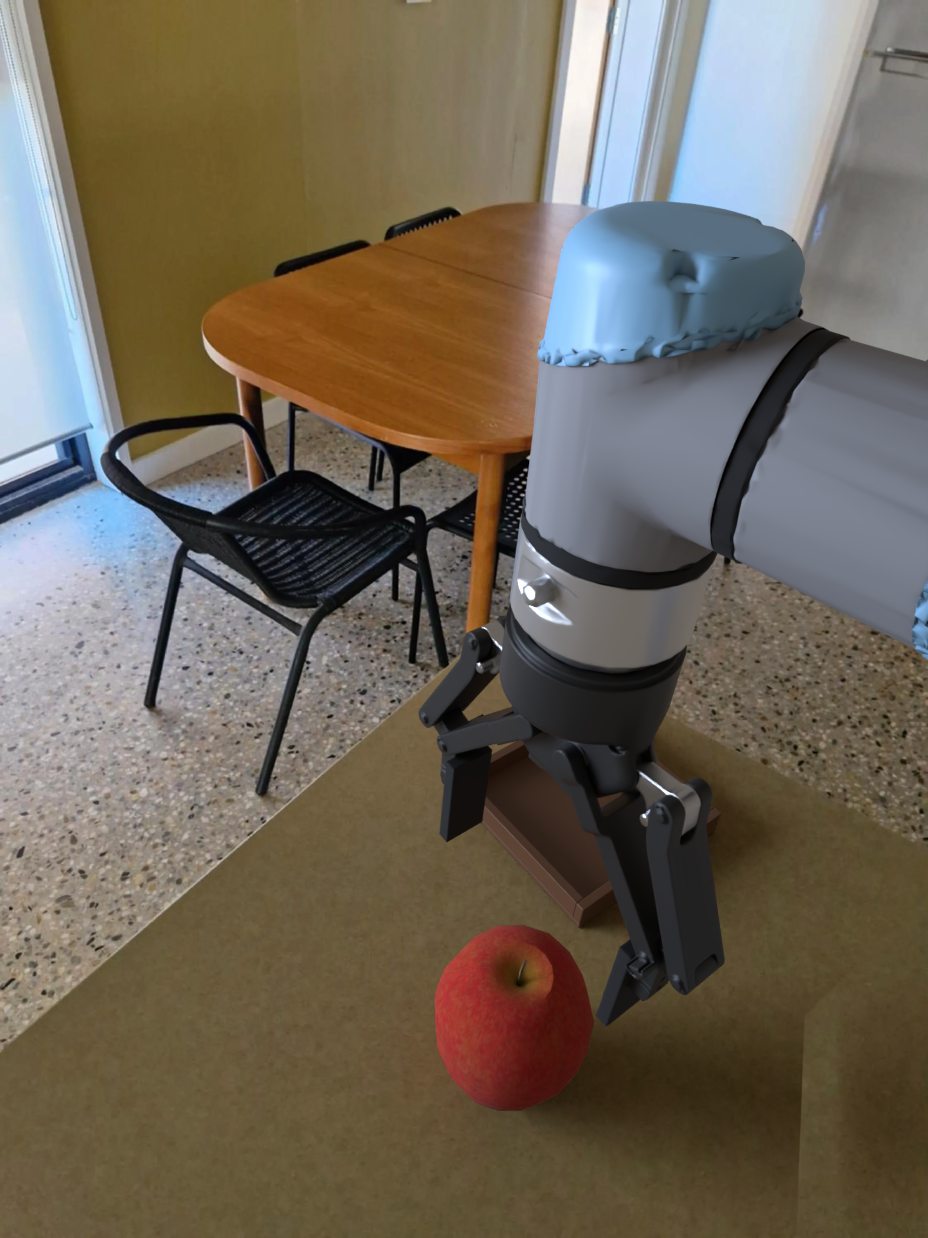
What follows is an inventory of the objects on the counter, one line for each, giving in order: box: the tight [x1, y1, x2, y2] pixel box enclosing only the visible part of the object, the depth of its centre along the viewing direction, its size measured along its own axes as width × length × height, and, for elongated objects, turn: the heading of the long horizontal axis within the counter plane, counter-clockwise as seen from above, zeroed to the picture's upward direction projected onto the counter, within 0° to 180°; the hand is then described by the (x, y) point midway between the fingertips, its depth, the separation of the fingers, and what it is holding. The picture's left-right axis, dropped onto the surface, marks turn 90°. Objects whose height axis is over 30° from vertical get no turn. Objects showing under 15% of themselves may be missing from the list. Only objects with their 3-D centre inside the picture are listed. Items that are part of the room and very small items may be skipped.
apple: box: [434, 924, 595, 1112], centre depth 57 cm, size 10×10×14 cm
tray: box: [480, 740, 722, 929], centre depth 78 cm, size 17×17×2 cm
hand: (533, 910), depth 50 cm, fingers open, 13 cm apart
